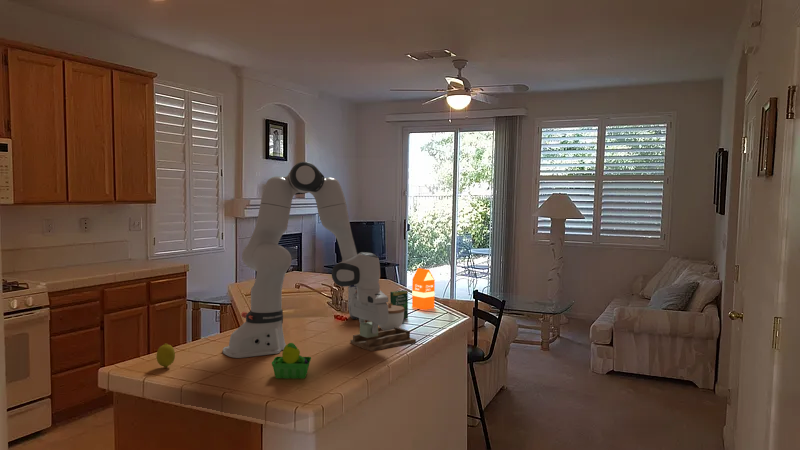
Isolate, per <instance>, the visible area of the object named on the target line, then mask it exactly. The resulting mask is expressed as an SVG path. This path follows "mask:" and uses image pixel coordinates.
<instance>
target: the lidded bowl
mask: <svg viewBox="0 0 800 450" xmlns="http://www.w3.org/2000/svg"><path fill="white" fill-rule="evenodd" d="M387 305H388V321H387V323H385V324H379V325H378V328H380V329H381V331H385V330H391V329H394V327H398V328H401V326H402V324H403V322H404V320H405V319H404V307H402V306H397V305H391V302H389V303H388V302H387Z"/></svg>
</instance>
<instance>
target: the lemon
mask: <svg viewBox="0 0 800 450" xmlns="http://www.w3.org/2000/svg"><path fill="white" fill-rule="evenodd" d="M155 356H156V361H157V364H159V366H161V367H164V368H165V369H167V368H168V367H169V366H171V365H172V364H173V363H174V361H175V359H176V351H175V349H174V347H173V346H172V345H171V344H168V343H166V342H165V343H164V344H163V345H160V346H159V347H158V349H157V351H156V355H155Z"/></svg>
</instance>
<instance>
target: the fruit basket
mask: <svg viewBox="0 0 800 450" xmlns="http://www.w3.org/2000/svg"><path fill="white" fill-rule="evenodd" d="M300 354H301V353H300V349H299V348H298V346H296V344H295V343H293V342H289V343H288V344H286V346H285V347H284V349H283V350H282V355H281V356H275V357H274V359H273V360H272V361H271V366H272V368H273V369H272V370H273V373H274V376H275V379H292V380H293V379H299V380H300V379H302V380H303V379H305V378H306V377H307V374H308V370H309V367H310V362H311V360H312V357H311V356H303V355H300Z"/></svg>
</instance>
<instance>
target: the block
mask: <svg viewBox="0 0 800 450" xmlns="http://www.w3.org/2000/svg"><path fill="white" fill-rule="evenodd" d="M372 326H373V325H372V322H371V321H367V322H366V321H365V323H361V324H360V323H359V334H360V336H363V337H366V338H370V337H375V336H378V332H379V326H378V327H377V332H376V333H375V334H373V333H371V328H372Z"/></svg>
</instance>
